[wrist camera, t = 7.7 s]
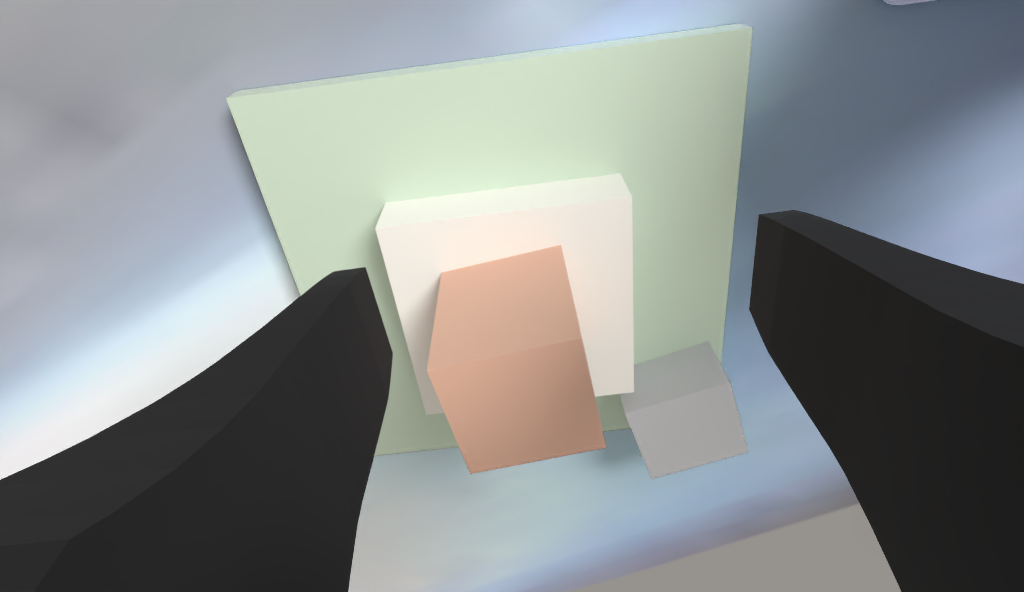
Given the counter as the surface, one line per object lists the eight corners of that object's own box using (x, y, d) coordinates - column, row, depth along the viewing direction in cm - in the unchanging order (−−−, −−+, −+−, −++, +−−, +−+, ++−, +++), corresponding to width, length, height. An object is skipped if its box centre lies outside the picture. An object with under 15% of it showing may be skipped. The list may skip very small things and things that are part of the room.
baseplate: (740, 23, 18) (752, 27, 17) (708, 403, 27) (715, 419, 26) (238, 90, 19) (226, 98, 18) (365, 440, 27) (361, 457, 26)
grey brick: (708, 340, 23) (730, 382, 21) (727, 408, 25) (748, 452, 23) (613, 371, 24) (625, 413, 22) (638, 434, 26) (651, 479, 24)
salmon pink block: (561, 244, 19) (581, 338, 14) (582, 341, 21) (606, 448, 16) (441, 272, 19) (426, 371, 15) (474, 364, 21) (470, 474, 17)
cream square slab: (620, 173, 19) (632, 196, 18) (624, 359, 24) (634, 392, 22) (385, 202, 20) (374, 228, 18) (430, 380, 24) (426, 414, 22)
